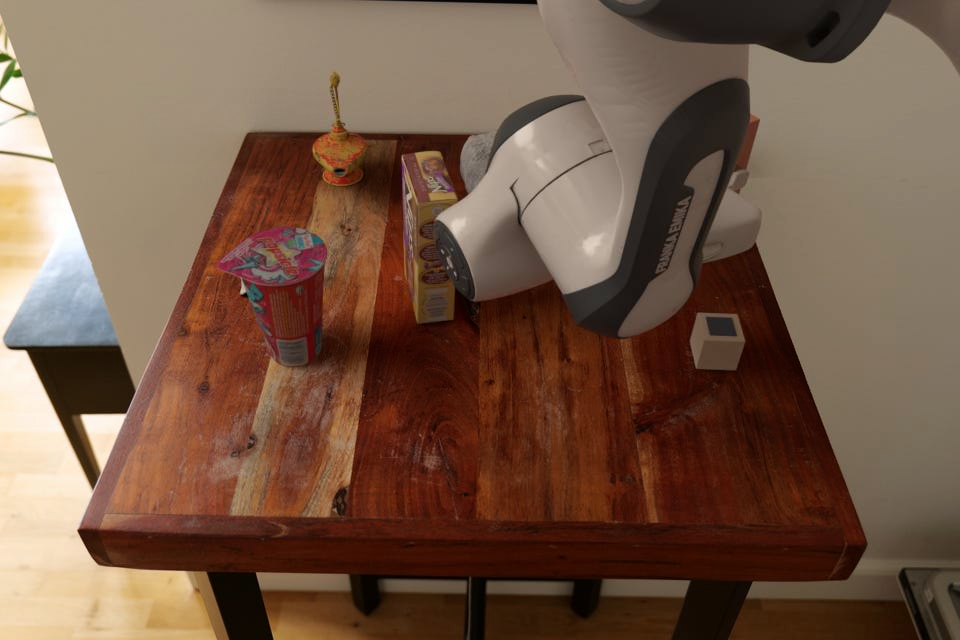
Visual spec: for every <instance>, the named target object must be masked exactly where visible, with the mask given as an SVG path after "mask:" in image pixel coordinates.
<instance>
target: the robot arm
mask: <svg viewBox="0 0 960 640" xmlns="http://www.w3.org/2000/svg"><path fill="white" fill-rule="evenodd" d="M536 3H537V7H538V10H539V14H540V17H541V20H542V22H543V25H544V27H545V29H546V31H547V33H548V35H549V37H550V39H551V41H552V43H553V44H554V47H555V48H556V50H557V52H558V53H559V56H560V57H561V60H562V61H563V63H564V64H565V66H566V68H567V69H568V71H569V73H570V74H571V76H572V78H573V80H574V82H575V83H576V85H577V86H578V88H579V91H580V92H581V93H582V95H580V94H573V93H571V94H555V95H549V96H545V97H541V98H539V99H536V100H534V101H532V102H529V103H527V104H525V105H523V106H521V107H519V108H517V109H516V110H515V111H513V112H512V113H509V115H507V117H506V118H505V119H504V120H503V121H502V122H501V124H500V125H499V127H498V129H496V130H497V133H496V135H495V138H494V142H493V145H492V149H491V152H490V156H489V159H488V163H487V167H486V172H485V176H484V177H483V178H482V180H481V181H480V182H479V184H478V185H477V186H476V187H475V188H474V189H473V190H472V192H471V193H470V194H468V193H467V195H466V196H465V197H463V198H462V199H461V200H458V202H457V203H456V204H454V205H453V206H451V207H449V208H447V209H446V210H444V211H443V212H441V213H440V214H439V215H438V216H437V217H436V219H435V222H434V228H433V229H434V230H433V238H434V243H435V248H436V250H437V252H438V255H439V259H440V261H441V263H442V265H443V267H444V269H445V271H446V273H447V274H448V276H449V278H450V279H451V281H452V283H453V284H454V286H455V290H457V291H458V292H459V293H460V294H461V295H463V296H464V297H465V298H466V299H467V300H469V301H471V302H484V301H491V300H496V299H501V298H504V297H507V296H510V295H514V294H518V293H521V292H525V291H527V290H530V289H534V288H535V287H538V286H541V285H543V284H547V283H549V282H551V281H553V280H554V282H555V284H556V285H557V287H558V289H559V290H560V292H561V297H562V299H563V302H564V303H565V305H566V307H567V310H568V311H569V313H570V315H571V317H572V319H573V321H574V323H575V325H576V327H579V328H581V329H583V330H585V331H587V332H590V333H593V334H596V335H598V336H602V337H605V338H610V339H615V340H626V339H630V338H634V337H635V336H638V335H641V334H644V333H646V332H648V331H651V330H653V329H654V328H656V327H659V326H660V325H661V324H664V323H665V322H666V321H667V320H669V319H670V318H671V317H673V316H674V315H676V314H677V312H678V311H680V309H681V308H683V306H684V305H685V304H686V303H687V302H688V300H690V298H691V297H692V296H693V295H694V293H695V291H696V289H697V286H698V284H699V281H700V277H701V273H702V267H703V264H707V263H712V262H716V261H719V260H722V259H726V258H730V257H732V256H736V255H738V254H741V253H743V252H746V251H749V250H750V249H751V248H753V247H754V245H755V243H756V241H757V239H758V236H759V233H760V230H761V225H762V219H763V211H762V210H761V208H760V207H758V206H757V205H756V204H754V203H752V202H751V201H749V200H748V199H746V198H745V197H743V196H742V195H741V194H740V193H739V194H737V193H736V192H734V191H736V190H738V189H741V190H742V189H743V188H744V187H745V186H746V185H747V183H748V180H749V175H750V172H749V170H747V169H746V170H745V169H743V168H742V167H740V166H739V165H737V161H738V159H739V156H740V153H741V151H742V148H743V145H744V142H745V139H746V135H747V132H748V128H749V123H750V114H751V89H750V84H749V64H750V63H749V62H750V61H749V60H750V58H749V57H750V45H757V46H760V47H764V48H766V49H769V50H770V51H774V52H776V53H778V54H779V53H780V54H782V55H785V56H787V57H790V58H793V59H796V60H798V61H801V62H805V63H815V64H836V63H839V62H842V61H843V60H845V59H846V58H848V56H850V55H851V54H852V53H853V52H855V51H856V50H857V48H859V47H860V46H861V45H862V44H863V43H864V42H865V40H866V39H867V38H868V37H869V36H870V35H871V34H872V32H873V31H874V30H875V29H876V27H877V26H878V24H879V22H880V21H881V20H882V18H883V16H884V15H889V16H892V17H893V18H894V17H895V18H897V19H899V20H901V21H903V22H905V23H907V24H908V25H910V26H912V27H914V28H916V29H917V30H919V31H920V32H921V33H922V34H924V35H925V36H926V37H927V38H929V40H930V41H932V42H933V43H934V44H935V45H936V46H937V47H938V48H939V49H940V50H941V51H942V52H943V53H944V55H945V56H946V58H947V59H948V60H949V62H950V63H951V64H952V66H953V68H954V69H955V71H956V73H957V74H958V76H959V77H960V0H536Z"/></svg>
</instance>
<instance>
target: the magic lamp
mask: <svg viewBox="0 0 960 640" xmlns="http://www.w3.org/2000/svg"><path fill="white" fill-rule="evenodd" d="M329 81H330V86H329V87H328V88H329V93H330V99H331V104H332V107H333V112H334V117H335V120H334V122H333V123H331V126H332V127H333V128H332V129H330V130H329V131H330V132H328V133H326V134H323V135H322V136H319V137H318V138H317V139H316V141H315V142H313V145H312V155H313V157H314V159H315V160H316V161H317V163H318V164H319V165H321V166H322V167H323V168H325V170H324V171H323V173H322V179H323V181H324V182H325V183H327V184H329V185H331V186H335V187H347V186H352V185H355V184H357V183H359V182H360V181H361V180H362V179H363V177H364V171H363V170H362V169H361V168H360V167H358V166H359V165H360V164H362V162H363V161H365V159H366V157H367V156H368V153H369V146H368V142H367V141H366V139H365V138H364V137H362V136H361V135H359V134H358V133H354V132H351V131H348V129H347V128H345V126H346V123H345V122H342V120H341V113H340V102H339V101H340V100H339V92H338V87H339V85H340V83H341V77H340V75H339V74H338V73H337V71H335V70H333V72H332V73H331V74H330V77H329Z"/></svg>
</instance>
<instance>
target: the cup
mask: <svg viewBox="0 0 960 640" xmlns="http://www.w3.org/2000/svg"><path fill="white" fill-rule="evenodd" d="M327 260H328V248H327V245H326V243H325V241H324V240H323V239H322V238H321V236H319V235H317V234H316V233H315V232H313V231H311V230H307V229H304V228H300V227H292V226H291V227H290V226H279V227H271V228H267V229H262V230H260V231H257V232H255V233H252V234H251V235H249V236H247V237H246V238H244V239H243V240H242V241H240V242H239V243H238V244H237V245H235V246H234V247H232V249H231V250H229V251H228V252H227V253H226V254H224V255H223V256H222V257H221V258H220V259H219V260H218V261H217V262H216V265H215V267H216V269H217V270H219V271H222V272H224V273H227V274H229V275H232V276H235V277H238V278H240V280H241V279H242V281H241V283H242V282H243V284H244V287H245V289H246V294H247V295H246V296H247V297H248V300H249V302H250V305H251V308H252V311H253V313H254V315H255V319H256V321H257V323H258V325H259V327H260V332H261V334H262V336H263V339H264V341H265V344H266V347H267V350H268V352H269V354H270V357H271V358H272V360H273V361H274V362H275V363H276V364H278V365H281V366H285V367H290V368H291V367H301V366H305V365H307V364H310V363H311V362H313V361H314V360H316V358H318V356H319V355H320V353H321V351H322V343H323V341H322V340H323V311H324V288H325V287H324V285H325V266H326V265H325V264H326V262H327Z"/></svg>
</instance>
